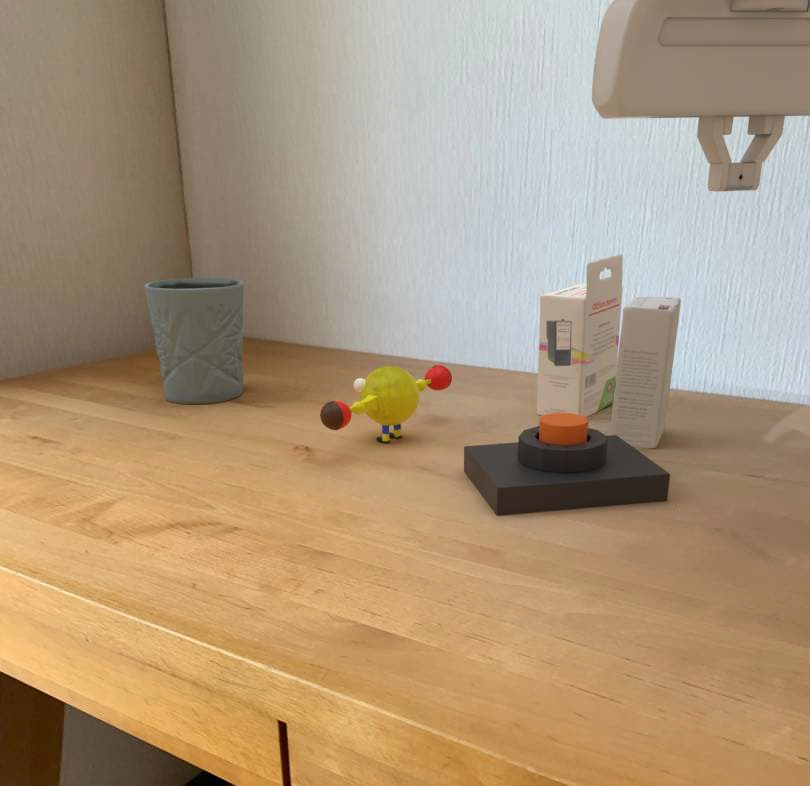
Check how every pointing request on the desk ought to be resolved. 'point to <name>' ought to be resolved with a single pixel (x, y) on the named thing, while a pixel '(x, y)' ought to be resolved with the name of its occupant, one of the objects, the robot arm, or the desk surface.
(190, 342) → the drinking glass
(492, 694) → the desk surface
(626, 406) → the cosmetic box
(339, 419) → the toy figure
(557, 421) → the button
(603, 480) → the black button base
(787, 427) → the desk surface
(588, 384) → the ink box
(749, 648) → the desk surface
